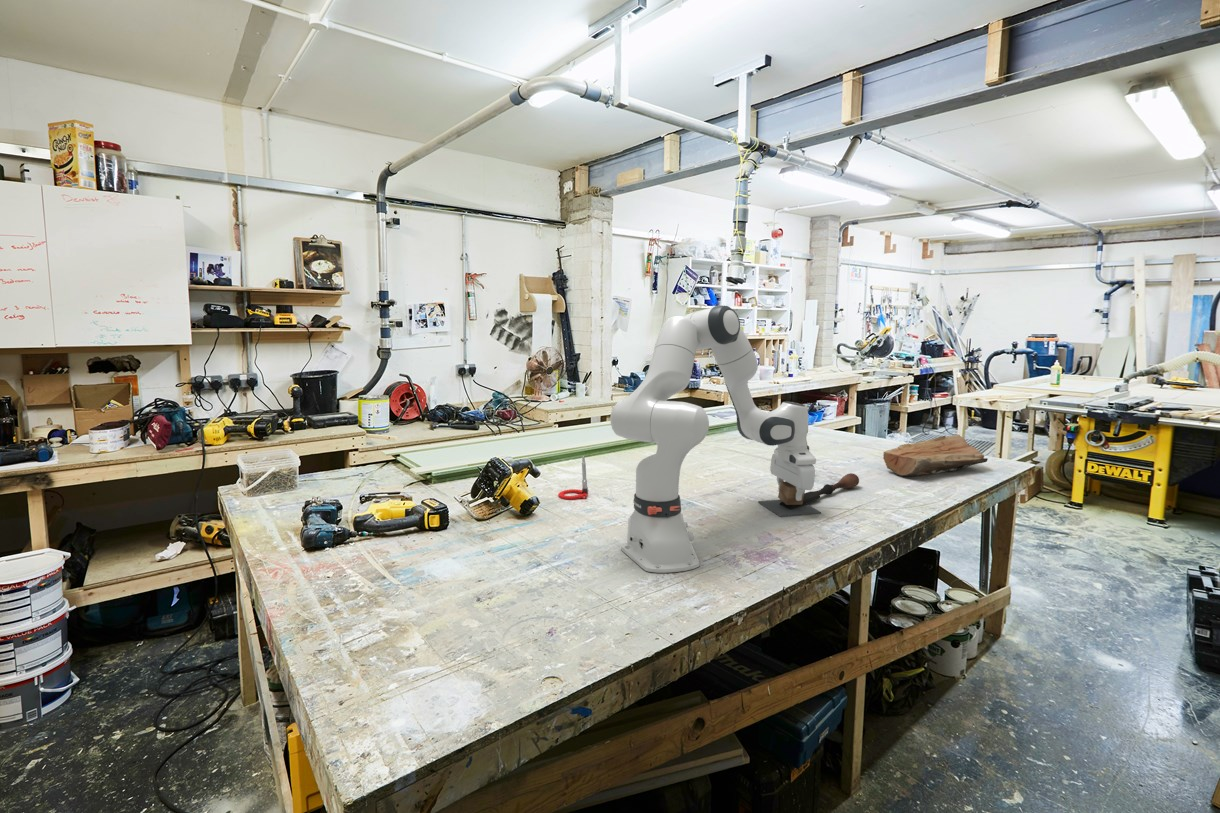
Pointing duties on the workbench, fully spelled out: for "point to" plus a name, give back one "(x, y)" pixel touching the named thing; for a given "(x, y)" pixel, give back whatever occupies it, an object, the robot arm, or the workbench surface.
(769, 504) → the charcoal mat
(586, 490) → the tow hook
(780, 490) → the walnut block
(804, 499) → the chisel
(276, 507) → the workbench surface
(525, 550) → the workbench surface
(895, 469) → the log
